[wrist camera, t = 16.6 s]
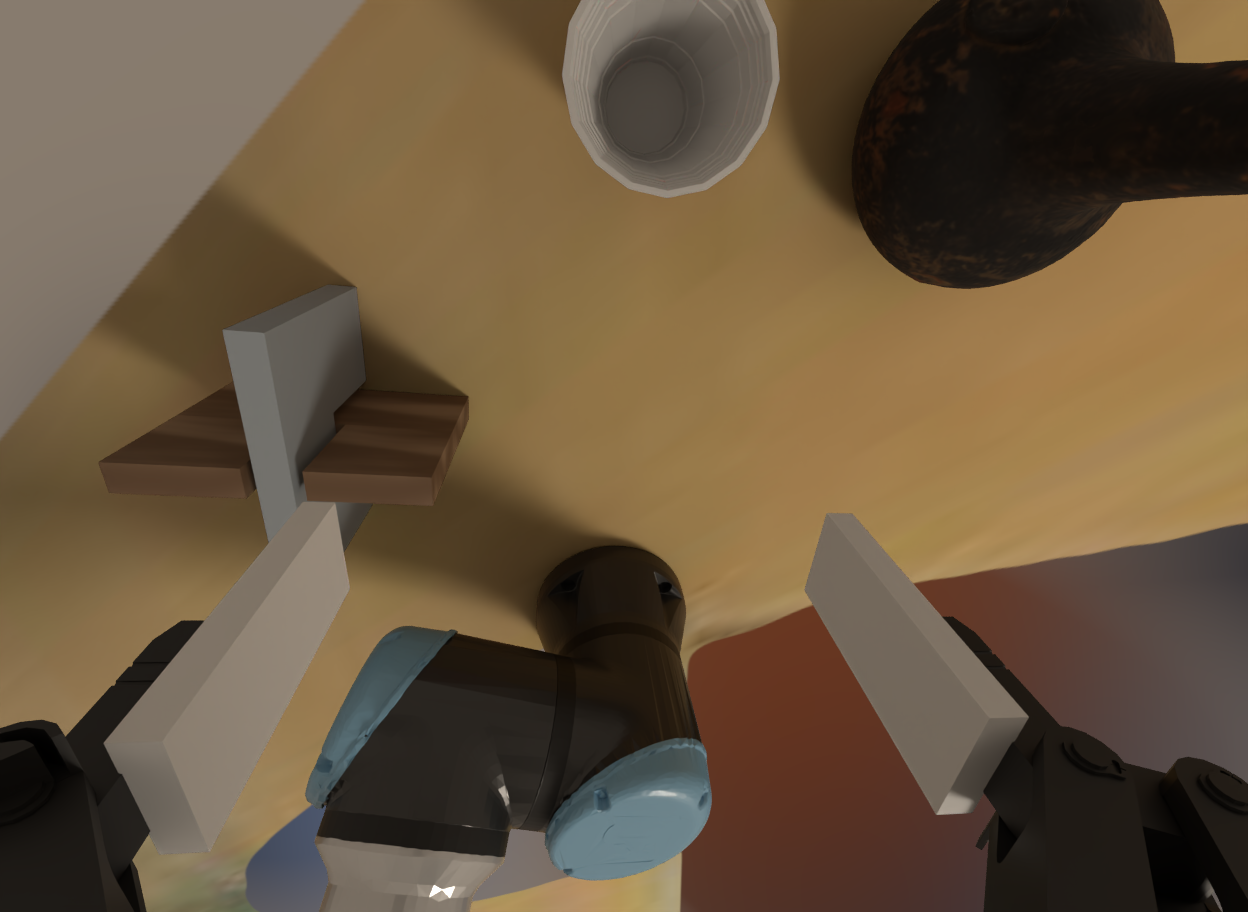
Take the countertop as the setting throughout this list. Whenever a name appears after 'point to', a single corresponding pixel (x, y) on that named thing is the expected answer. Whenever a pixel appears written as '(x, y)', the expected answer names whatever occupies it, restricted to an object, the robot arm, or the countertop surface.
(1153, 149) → the dark brown vase
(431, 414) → the walnut board
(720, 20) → the plastic cup
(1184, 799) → the robot arm
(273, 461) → the notched grey panel
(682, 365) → the countertop surface
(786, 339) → the countertop surface
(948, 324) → the countertop surface
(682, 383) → the countertop surface
